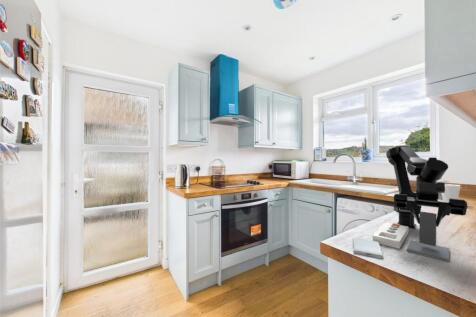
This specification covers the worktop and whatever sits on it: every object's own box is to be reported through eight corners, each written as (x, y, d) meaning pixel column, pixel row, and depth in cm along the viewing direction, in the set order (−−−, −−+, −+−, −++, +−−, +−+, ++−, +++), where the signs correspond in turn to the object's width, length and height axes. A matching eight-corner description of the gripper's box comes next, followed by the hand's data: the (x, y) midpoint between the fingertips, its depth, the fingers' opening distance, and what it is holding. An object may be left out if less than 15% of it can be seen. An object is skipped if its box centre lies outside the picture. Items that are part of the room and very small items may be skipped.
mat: (411, 241, 76) (411, 239, 76) (449, 250, 69) (449, 248, 69) (406, 251, 69) (406, 248, 69) (449, 261, 61) (449, 259, 61)
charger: (420, 239, 72) (420, 211, 72) (436, 242, 69) (436, 213, 69) (419, 242, 69) (419, 213, 69) (435, 246, 66) (435, 216, 66)
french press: (437, 200, 150) (437, 166, 150) (428, 197, 161) (428, 166, 161) (454, 201, 147) (454, 166, 147) (444, 198, 158) (443, 166, 158)
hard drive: (353, 237, 78) (353, 249, 68) (378, 241, 74) (383, 255, 64) (353, 241, 78) (353, 254, 68) (378, 245, 74) (383, 260, 64)
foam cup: (462, 206, 131) (462, 186, 131) (443, 204, 136) (443, 185, 136) (457, 203, 139) (456, 184, 139) (438, 201, 144) (438, 183, 144)
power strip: (385, 227, 91) (385, 221, 91) (408, 232, 85) (408, 225, 86) (372, 241, 76) (372, 233, 76) (399, 248, 70) (399, 239, 70)
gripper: (393, 172, 78) (391, 206, 70) (466, 175, 66) (473, 216, 57) (395, 190, 84) (393, 223, 76) (462, 195, 71) (468, 236, 63)
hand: (427, 224), depth 68 cm, fingers closed on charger, 4 cm apart
